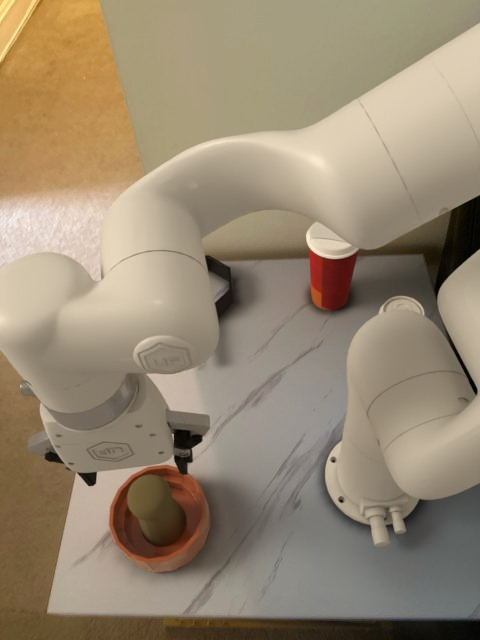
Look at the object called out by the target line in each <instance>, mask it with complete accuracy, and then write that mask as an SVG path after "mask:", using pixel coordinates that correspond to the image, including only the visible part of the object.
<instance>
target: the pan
mask: <svg viewBox="0 0 480 640" xmlns="http://www.w3.org/2000/svg"><path fill="white" fill-rule="evenodd" d="M205 259H206V264H207V269H208V272H211V273H213V274H215V275H217V276H218V277H220V278H221V279H223V280H225V281H226V282H228V290H227V291H225V292H224V294H222V295H221V296H220V297H219V298H218V299H217V300H216V301H214V302H215V307H216V311H217V316H218V319H219V318H220V317H221V316H222V315H223V314H224V313H226V311H227V310H229V309H230V307H231V306H232V305H234V303H235V295H234V286H233V278H232V270H231V267H230V266H229V265H227V264H225V263H223V262H221V261H220V260H218V259H216V258H214V257H213V256H212V255H209V254H207V255H205Z"/></svg>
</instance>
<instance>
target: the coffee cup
mask: <svg viewBox="0 0 480 640" xmlns="http://www.w3.org/2000/svg"><path fill="white" fill-rule="evenodd" d="M305 238H306V245H307V246H308V255H309V276H310V295H311V300H312V302H313V304H314V305H315V306H316V307H317V308H319V309H321V310H324V311H329V312H331V311H336V310H339V309H342V308H343V307H344V306H345V304H346V303H347V301H348V297H349V294H350V290H351V285H352V280H353V275H354V272H355V267H356V263H357V258H358V254H359V250H360V248H357V247H355V246H353V245H351V244H349V243H347V242H346V241H345V240H343V239H342V238H340V237H339V236H338V235H336V234H335V233H334V232H332V231H331V230H330V229H328V228H327V227H325V226H324V225H322V224H321V223H319V222H317V221H315V222H313V223H312V224H311V225H310V227H309V228H308V229H307V231H306V233H305Z"/></svg>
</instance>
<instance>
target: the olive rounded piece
mask: <svg viewBox="0 0 480 640" xmlns="http://www.w3.org/2000/svg"><path fill="white" fill-rule="evenodd" d="M127 503H128V507H129V509H130V511H131V512H132V513H133V515H134V516H136V517H137V518H138V519H139V523H140V527H141V531H142V534H143V537H144V538H145V539H146V541H147V542H149V543H150V544H152V545H153V546H158V547H164V546H169V545H171V544H173V543H175V542H176V541H177V540H179V539H180V538H181V536H182V535H183V533H184V531H185V528H186V525H187V518H186V514H185V511H184V509H183V508H182V507H181V506H180V505H179V504H178V503H177V502H176V501H175V500H174V499H173V497H172V492H171V489H170V486H169V484H168V483H167V482H166V481H165V479H163V478H161V477H159V476H158V475H152V474H150V475H144V476H142V477H140V478H138V479H137V480H136V481H134V482H133V484H132V485H131V487H130V488H129V491H128V494H127Z"/></svg>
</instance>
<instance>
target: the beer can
mask: <svg viewBox="0 0 480 640" xmlns="http://www.w3.org/2000/svg"><path fill="white" fill-rule="evenodd" d="M401 309H404V310H411V311H414V312H417V313H420V314H422V315H424V316H425V317H427V316H426V313H425V309H424V307H423V305H422V304H421V303H420V302H419V301H418V300H417V299H415V298H413V297H410V296H406V295H395V296H393V297H390V298H389V299H387V300H386V301H385V302H384V303H383V304H381V307H380V308H379V310H378V314H381V313H383V312H387V311H391V310H401Z"/></svg>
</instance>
